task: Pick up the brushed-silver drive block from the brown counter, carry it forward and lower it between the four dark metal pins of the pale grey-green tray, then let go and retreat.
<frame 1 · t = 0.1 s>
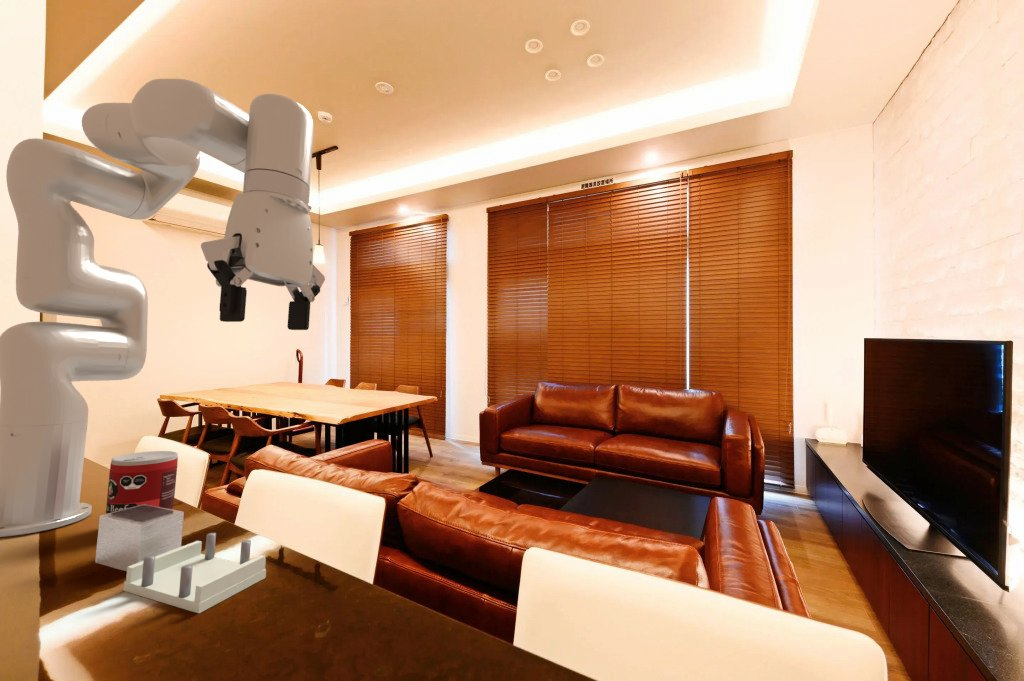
hand: (267, 325, 53), 31 cm above the kitchen counter, tool pointing down, fingers open, 9 cm apart
tray: (197, 583, 49), on the kitchen counter
drive: (138, 560, 54), on the kitchen counter
canned food: (139, 528, 65), on the kitchen counter
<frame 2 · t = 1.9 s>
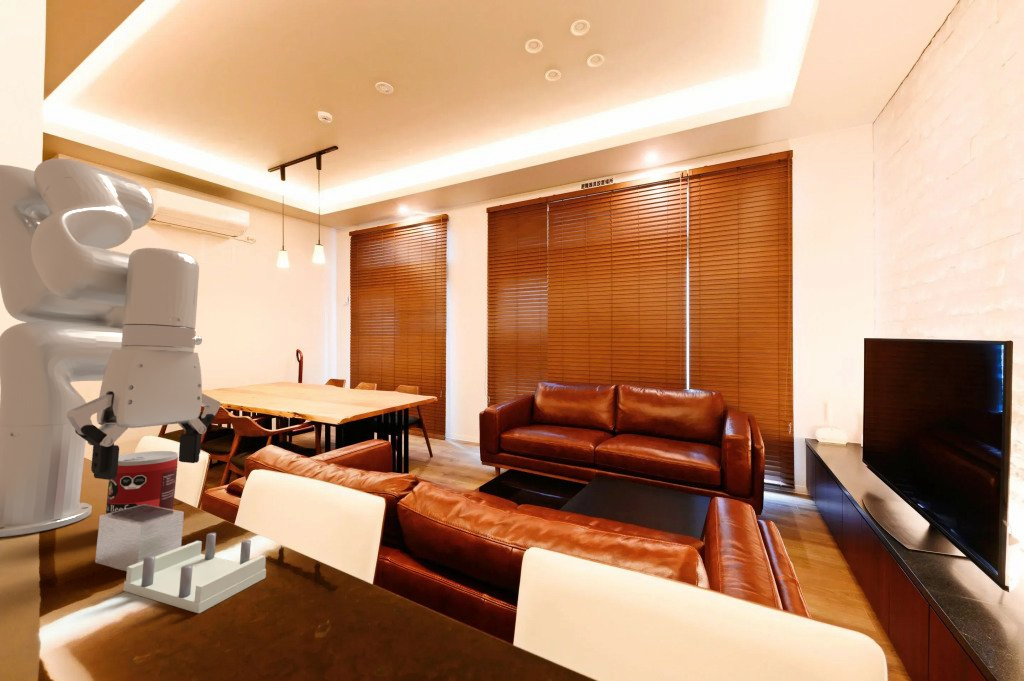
hand: (150, 469, 55), 12 cm above the kitchen counter, tool pointing down, fingers open, 9 cm apart
nothing on the kitchen counter moved.
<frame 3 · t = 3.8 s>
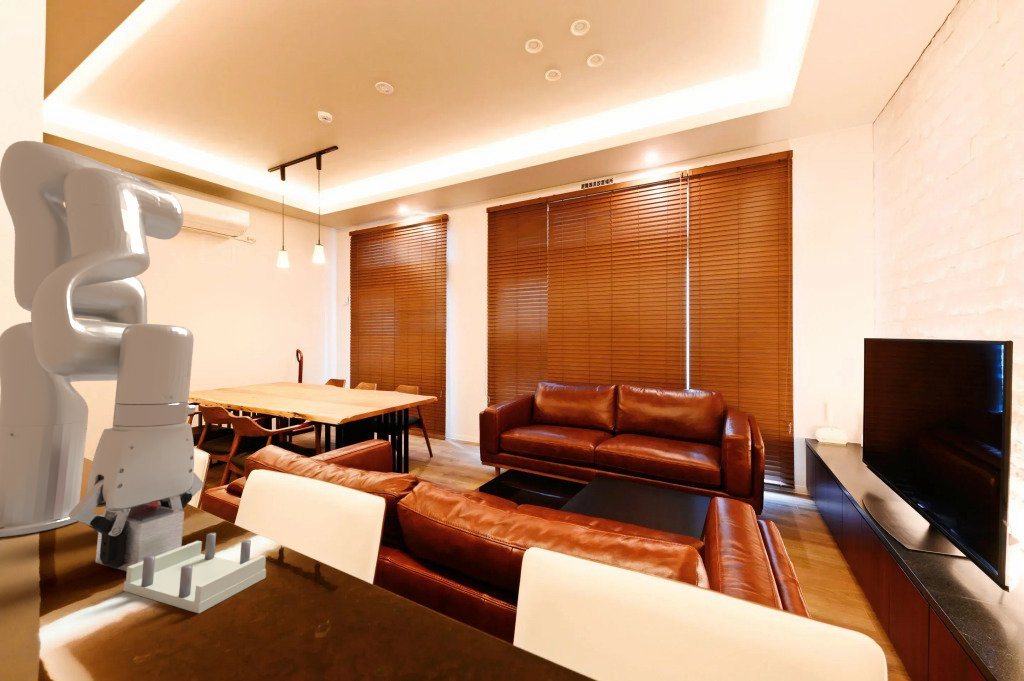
hand: (139, 554, 54), 1 cm above the kitchen counter, tool pointing down, fingers closed on drive, 5 cm apart
drive: (138, 559, 54), on the kitchen counter, touching gripper
everything else where it was.
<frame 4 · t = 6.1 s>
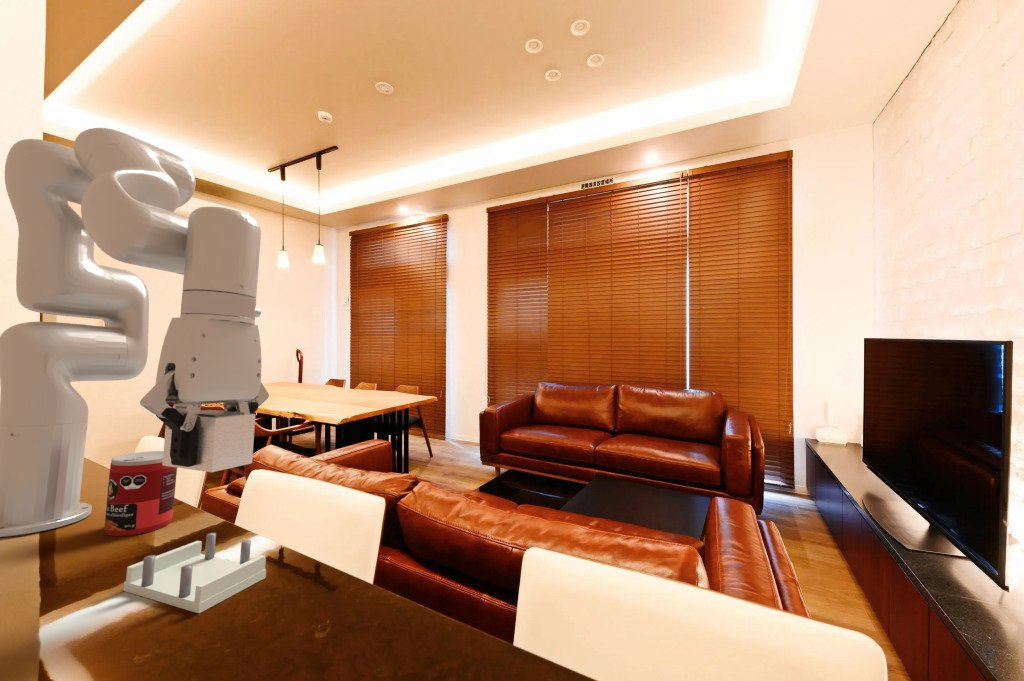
hand: (208, 458, 50), 15 cm above the kitchen counter, tool pointing down, fingers closed on drive, 5 cm apart
drive: (208, 464, 50), point 14 cm above the kitchen counter, touching gripper
everything else where it was.
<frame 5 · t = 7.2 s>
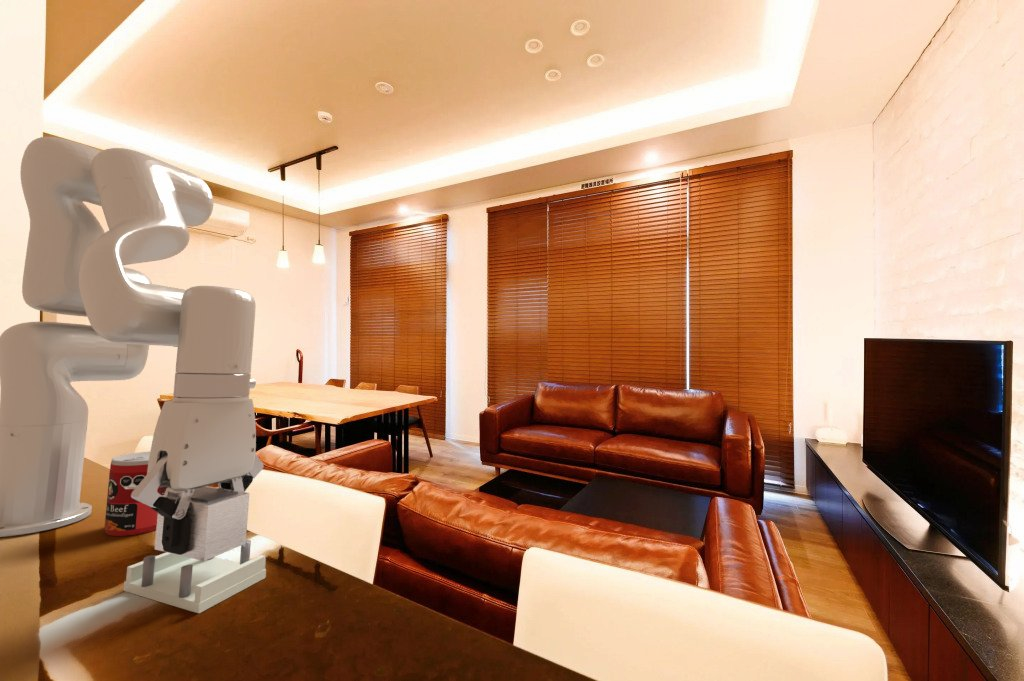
hand: (201, 540, 49), 5 cm above the kitchen counter, tool pointing down, fingers closed on drive, 5 cm apart
drive: (201, 546, 49), point 4 cm above the kitchen counter, touching gripper
everything else where it was.
when the fingers open (3 cm above the kitchen counter, at t = 8.3 s): drive drops 2 cm, resting on tray.
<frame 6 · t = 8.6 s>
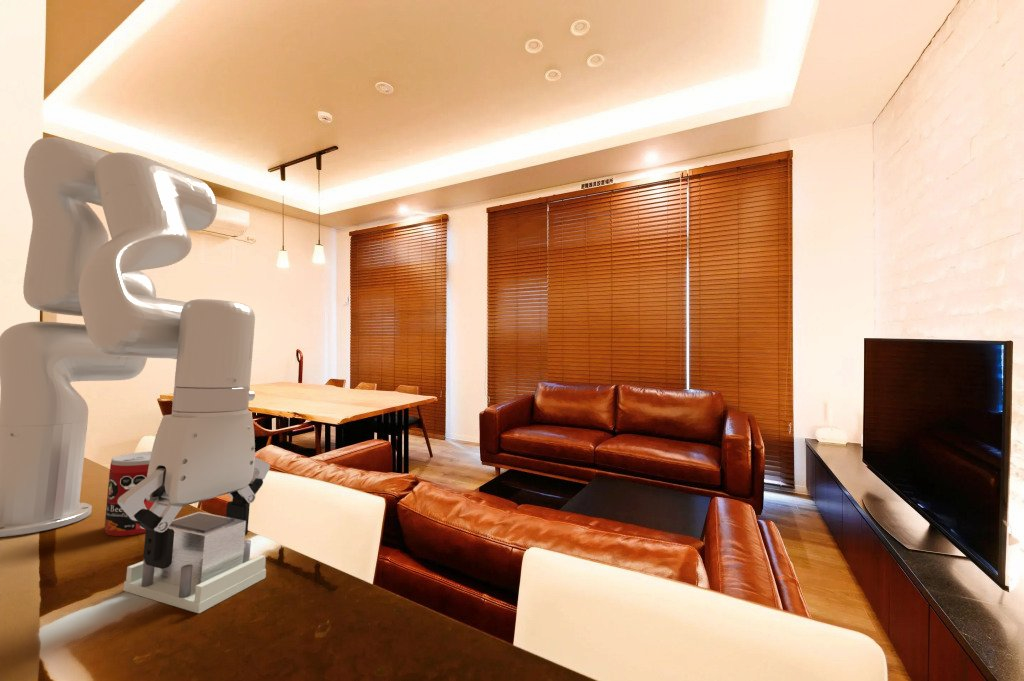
hand: (200, 548, 49), 4 cm above the kitchen counter, tool pointing down, fingers open, 8 cm apart
drive: (197, 574, 49), point 1 cm above the kitchen counter, touching tray
everything else where it was.
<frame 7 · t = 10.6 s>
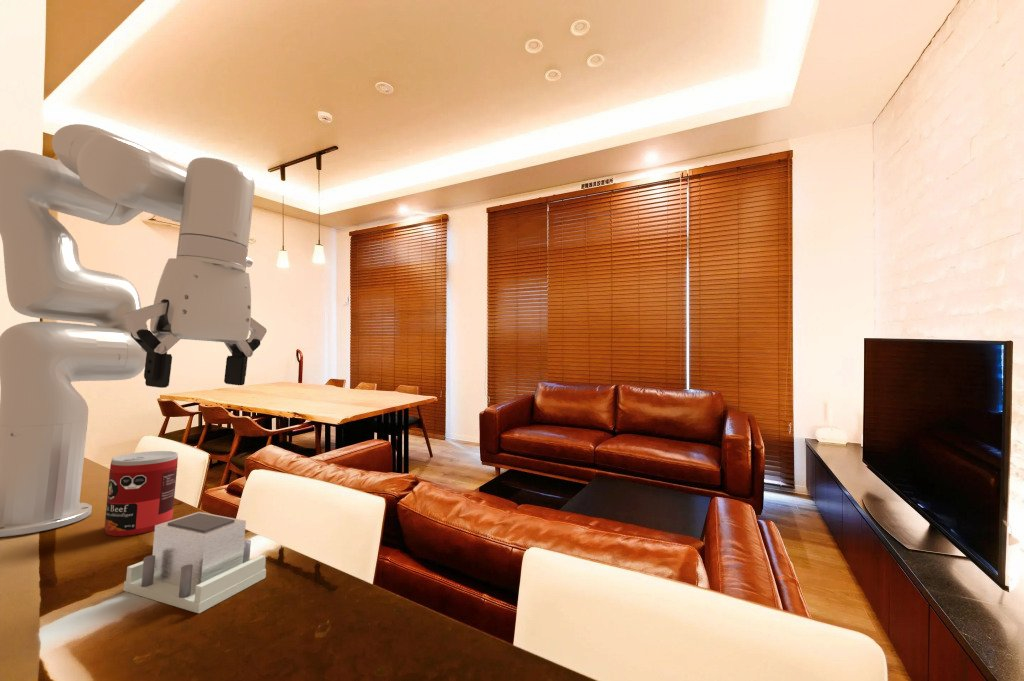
hand: (198, 385, 54), 23 cm above the kitchen counter, tool pointing down, fingers open, 9 cm apart
nothing on the kitchen counter moved.
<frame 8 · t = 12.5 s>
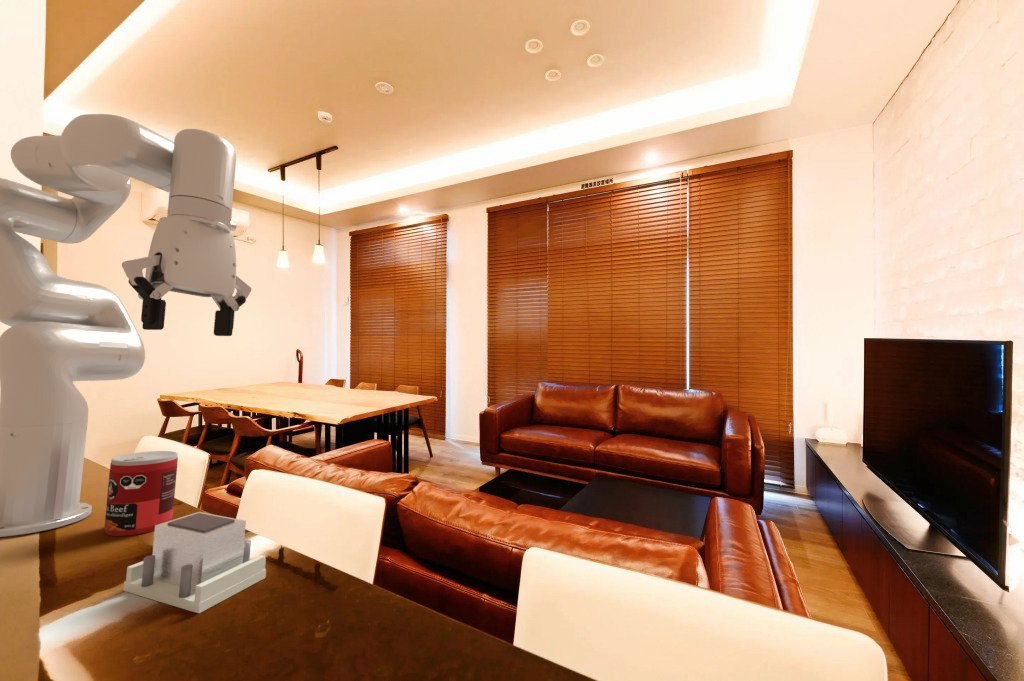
hand: (190, 332, 60), 30 cm above the kitchen counter, tool pointing down, fingers open, 9 cm apart
nothing on the kitchen counter moved.
at the end: drive 0.1 cm off-centre on the tray, point 1.0 cm above the tray's base; drive tilted 0°; the gripper is holding nothing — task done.
